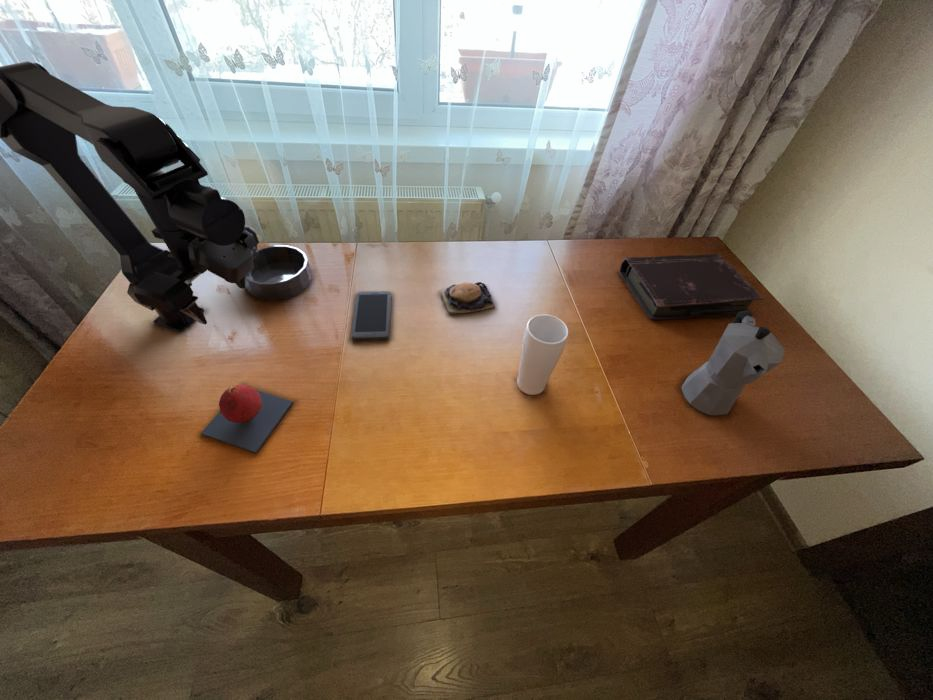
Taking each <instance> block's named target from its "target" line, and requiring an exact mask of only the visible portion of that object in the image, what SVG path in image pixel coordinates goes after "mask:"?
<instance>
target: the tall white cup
mask: <svg viewBox="0 0 933 700" xmlns="http://www.w3.org/2000/svg"><path fill="white" fill-rule="evenodd" d="M568 337H569V328H568V326H567V324H566V323H565V322H564V321H563V320H562V319H560V317H557V316H554V315H553V314H552V315H551V314H545V313H543V314H537V315H534V316H532V317H530V319H529V320H528V321H527V323H526V326H525V329H524V333H523V336H522V340H521V341H522V342H521V349H520V358H519V365H518V374H517V377H516V385H517V387H518V389H519V390H520V391H521V392H522V393H524V394H526V395H529V396H536V395H537V396H538V395H539V394H541V393H543V391H544V390H545V388H546V386H547V383H548V382H549V379H550V378H551V375H552V374H553V371H554V370H555V368H556V366H557V364H558V362H559V360H560V358H561V356H562V354H563V352H564V349H565V346H566V343H567V340H568Z"/></svg>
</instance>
